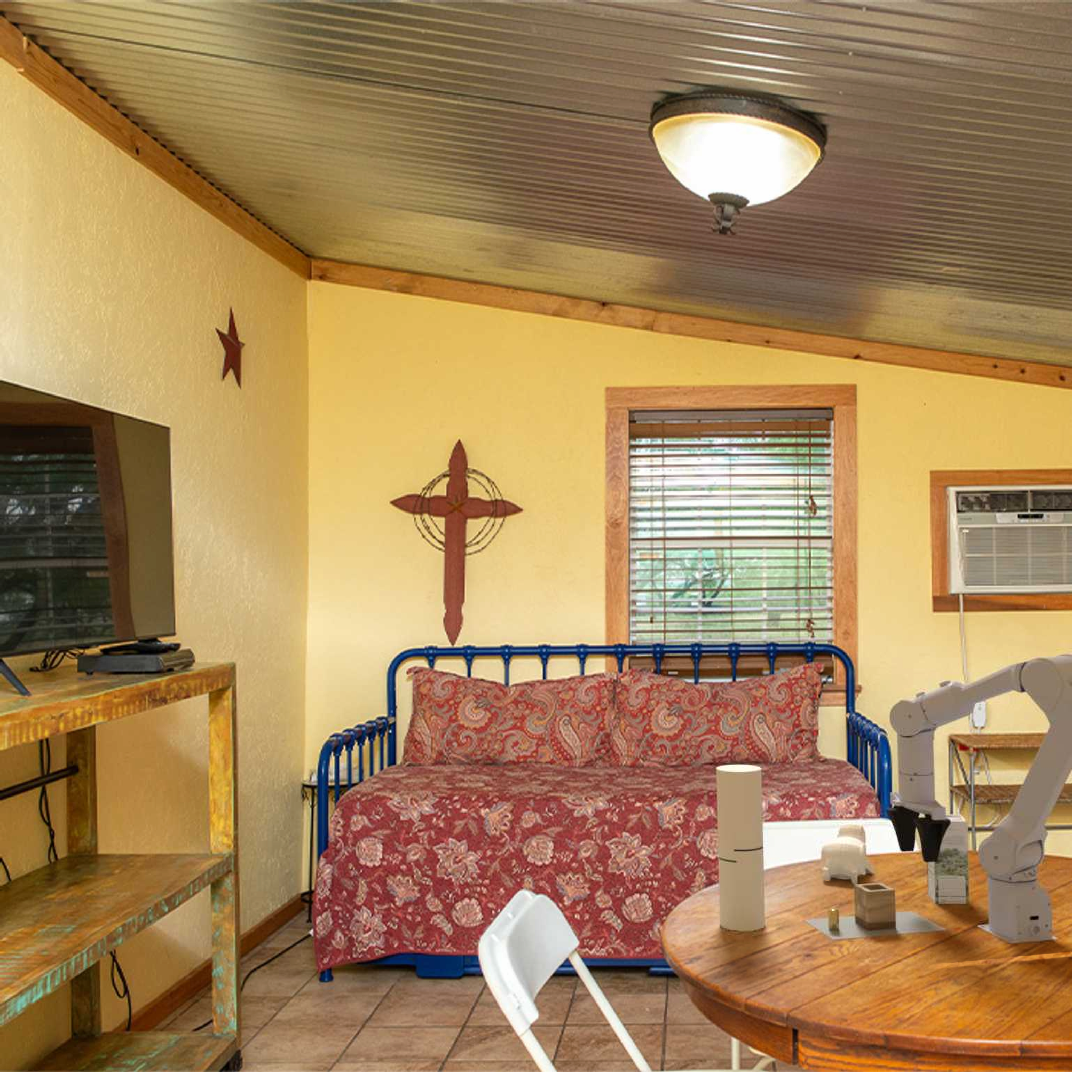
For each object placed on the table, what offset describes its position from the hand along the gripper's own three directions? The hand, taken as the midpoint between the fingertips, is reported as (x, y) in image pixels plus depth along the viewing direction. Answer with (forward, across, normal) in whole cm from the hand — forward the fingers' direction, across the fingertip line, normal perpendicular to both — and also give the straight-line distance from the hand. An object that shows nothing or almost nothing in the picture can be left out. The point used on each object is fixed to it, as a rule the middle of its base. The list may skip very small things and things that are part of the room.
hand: (918, 856), depth 202 cm
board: (+9, +6, -11) cm, 15 cm away
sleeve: (+9, +6, -11) cm, 15 cm away
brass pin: (+9, +6, -18) cm, 21 cm away
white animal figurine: (+10, -27, 0) cm, 29 cm away
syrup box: (+10, -5, +8) cm, 13 cm away
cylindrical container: (+10, -2, -30) cm, 32 cm away
